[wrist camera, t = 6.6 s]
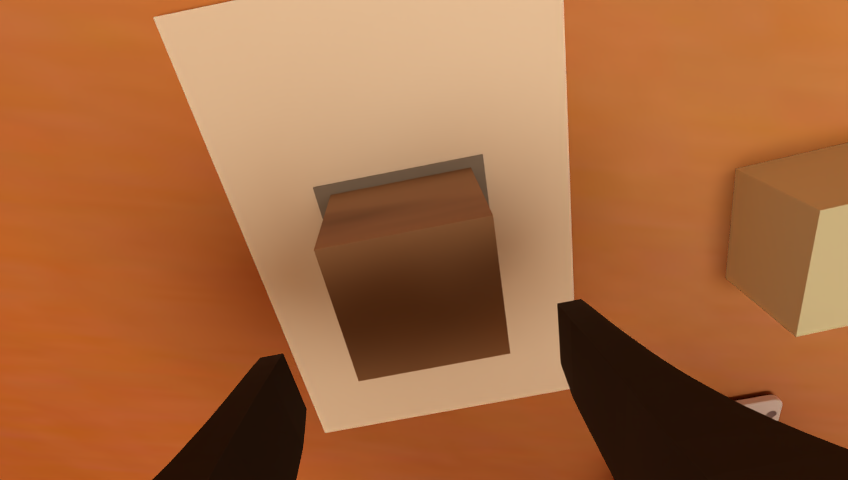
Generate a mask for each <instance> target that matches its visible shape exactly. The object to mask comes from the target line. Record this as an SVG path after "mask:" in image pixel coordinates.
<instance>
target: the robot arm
mask: <svg viewBox="0 0 848 480" xmlns="http://www.w3.org/2000/svg"><path fill="white" fill-rule="evenodd" d="M557 310H558V327H559V344H560V361H561V366H562V369H563V372H564V374H565V377H566V380H567V383H568V385H569V388H570V391H571V393H572V396H573V399H574V401H575V403H576V405H577V407H578V409H579V411H580V413H581V415H582V417H583V419H584V421H585V423H586V425H587V427H588V429H589V430H590V432H591V434H592V436H593V438H594V440H595V442H596V444H597V446H598V448H599V450H600V452H601V454H602V456H603V458H604V460H605V462H606V464H607V466H608V468H609V470H610V471H611V473H612V475H613V477H614V479H615V480H848V449H846V448H843V447H840V446H838V445H835V444H833V443H830V442H828V441H825V440H822V439H820V438H817V437H815V436H812V435H810V434H807V433H805V432H802V431H800V430H798V429H795V428H793V427H790V426H788V425H786V424H783V423H781V422H779V421H778V420H779V416H780V412H781V409H782V401H781V400H780V399H779V398H778V397H777V396H776V395H765V396H759V397H754V398H748V399H742V400H737V401H734V400H732V399H730V398H728V397H726V396H724V395H722V394H721V393H719V392H717V391H715V390H713V389H711V388H710V387H708V386H706V385H704V384H702V383H700V382H699V381H697V380H695V379H693V378H692V377H690V376H688V375H686V374H685V373H683V372H681V371H680V370H678V369H677V368H675V367H674V366H672V365H670V364H669V363H667V362H666V361H664V360H663V359H661V358H660V357H658V356H657V355H655V354H654V353H652V352H651V351H649V350H648V349H646V348H645V347H644V346H642V345H641V344H639V343H638V342H637V341H635V340H634V339H632V338H631V337H630V336H628V335H627V334H626V333H624V332H623V331H622V330H620V329H619V328H618V327H616V326H615V325H614V324H612V323H611V322H610V321H608V320H607V319H606V318H605V317H603V316H602V315H601V314H600V313H598V312H597V311H596V310H594V309H593V308H592V307H591V306H589V305H588V304H587V303H586V302H584V301H583V300H581V299H579V300H573V301H568V302H562V303H557ZM305 421H306V407H305V404H304V402H303V400H302V397H301V395H300V393H299V390H298V388H297V385H296V383H295V381H294V378H293V376H292V374H291V371H290V369H289V367H288V364H287V362H286V359H285V357H284V355H283V354H278V355H273V356H267V357H262V358H260V359H259V360H258V361H257V362H256V363H255V364H254V366H253V367H252V368H251V369H250V370H249V372H248V373H247V374H246V375H245V376H244V378H243V379H242V380H241V381H240V383H239V384H238V385H237V386H236V387H235V389H234V390H233V391H232V392H231V394H230V395H229V396H228V397H227V398H226V400H225V401H224V402H223V403H222V404H221V406H220V407H219V408H218V409H217V410H216V412H215V413H214V414H213V415H212V416H211V418H210V419H209V420H208V421H207V422H206V423H205V424H204V426H203V427H202V428H201V429H200V430H199V431H198V432H197V433H196V434H195V435H194V437H193V438H192V439H191V440H190V441H189V442H188V443H187V444H186V445H185V447H184V448H183V449H182V450H181V451H180V452H179V453H178V454H177V455H176V456H175V457H174V459H173V460H172V461H171V462H170V463H169V464H168V465H167V466H166V467H165V468H164V469H163V470H162V471H161V472H160V473H159V474H158V475H157V476H156V477H155V478H154V479H153V480H296V478H297V473H298V469H299V464H300V459H301V455H302V450H303V443H304V433H305Z"/></svg>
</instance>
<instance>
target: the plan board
mask: <svg viewBox="0 0 848 480" xmlns="http://www.w3.org/2000/svg"><path fill="white" fill-rule="evenodd" d="M153 18H154V21H155V23H156V26H157V28H158V30H159V33H160V35H161V38H162V40H163V43H164V45H165V47H166V50H167V52H168V55H169V57H170V59H171V62H172V64H173V67H174V69H175V72H176V74H177V76H178V79H179V81H180V84H181V86H182V88H183V91H184V93H185V96H186V98H187V101H188V103H189V105H190V108H191V110H192V113H193V115H194V117H195V120H196V122H197V125H198V127H199V130H200V132H201V134H202V137H203V139H204V142H205V144H206V146H207V149H208V151H209V154H210V156H211V159H212V161H213V163H214V166H215V168H216V171H217V173H218V175H219V178H220V180H221V183H222V185H223V188H224V190H225V192H226V195H227V197H228V200H229V202H230V204H231V207H232V209H233V212H234V214H235V216H236V219H237V221H238V224H239V226H240V229H241V231H242V233H243V236H244V238H245V241H246V243H247V245H248V248H249V250H250V253H251V255H252V258H253V260H254V262H255V265H256V267H257V270H258V272H259V274H260V277H261V279H262V282H263V284H264V287H265V289H266V291H267V294H268V296H269V299H270V301H271V303H272V306H273V308H274V311H275V313H276V316H277V318H278V320H279V323H280V325H281V328H282V330H283V332H284V335H285V337H286V340H287V342H288V345H289V347H290V349H291V352H292V354H293V357H294V359H295V361H296V364H297V366H298V369H299V371H300V374H301V376H302V378H303V381H304V383H305V386H306V388H307V390H308V393H309V395H310V398H311V400H312V403H313V405H314V407H315V410H316V412H317V415H318V417H319V419H320V422H321V424H322V427H323V429H324V431H325V433H328V432H333V431H339V430H344V429H350V428H356V427H361V426H367V425H372V424H378V423H383V422H389V421H395V420H400V419H406V418H411V417H417V416H422V415H428V414H434V413H439V412H445V411H450V410H456V409H461V408H467V407H473V406H478V405H484V404H489V403H495V402H500V401H506V400H512V399H517V398H523V397H528V396H534V395H539V394H545V393H551V392H556V391H562V390H567V389H570V388H569V385H568V383H567V380H566V377H565V374H564V372H563V369H562V366H561V361H560V344H559V327H558V310H557V303H562V302H568V301H573V300H574V282H573V254H572V226H571V198H570V169H569V141H568V113H567V85H566V57H565V28H564V0H234V1H229V2H224V3H219V4H215V5H210V6H205V7H200V8H196V9H191V10H186V11H181V12H176V13H172V14H167V15H162V16H157V17H153ZM470 167H471V169H472V171H473V173H474V175H475V177H476V180H477V182H478V184H479V186H480V188H481V190H482V193H483V195H484V197H485V199H486V201H487V203H488V205H489V208H490V210H491V212H492V214H493V219H494V227H495V235H496V243H497V251H498V259H499V267H500V275H501V283H502V291H503V298H504V306H505V314H506V322H507V330H508V338H509V346H510V354H505V355H500V356H494V357H489V358H483V359H478V360H473V361H467V362H462V363H456V364H451V365H445V366H440V367H435V368H429V369H424V370H418V371H413V372H407V373H402V374H397V375H391V376H386V377H380V378H375V379H369V380H364V381H358V378H357V375H356V372H355V369H354V366H353V363H352V360H351V358H350V355H349V352H348V349H347V346H346V343H345V340H344V337H343V334H342V331H341V328H340V325H339V322H338V319H337V317H336V314H335V311H334V308H333V305H332V302H331V299H330V296H329V293H328V290H327V287H326V284H325V281H324V278H323V275H322V273H321V270H320V267H319V264H318V261H317V258H316V255H315V252H314V248H315V244H316V241H317V238H318V234H319V231H320V228H321V225H322V221H323V218H324V215H325V212H326V208H327V205H328V202H329V199H330V195H333V194H338V193H343V192H348V191H353V190H358V189H364V188H369V187H374V186H379V185H384V184H389V183H394V182H399V181H404V180H409V179H414V178H419V177H424V176H430V175H435V174H440V173H445V172H450V171H455V170H460V169H465V168H470Z"/></svg>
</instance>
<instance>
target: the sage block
mask: <svg viewBox="0 0 848 480" xmlns="http://www.w3.org/2000/svg"><path fill="white" fill-rule="evenodd" d="M725 278H726V279H727V280H728V281H730V282H731V283H732V284H733V285H734V286H736V287H737V288H738V289H739V290H740V291H742V292H743V293H744V294H745V295H746V296H748V297H749V298H750V299H751V300H752V301H754V302H755V303H756V304H757V305H758V306H760V307H761V308H762V309H763V310H764V311H766V312H767V313H768V314H769V315H770V316H772V317H773V318H774V319H775V320H776V321H778V322H779V323H780V324H781V325H782V326H783V327H785V328H786V329H787V330H788V331H789V332H791V333H792V334H793V335H794V336H795V337H798V336H803V335H807V334H812V333H817V332H821V331H826V330H830V329H835V328H840V327H844V326H848V143H844V144H840V145H835V146H831V147H827V148H822V149H818V150H814V151H810V152H805V153H801V154H797V155H792V156H788V157H784V158H779V159H775V160H771V161H767V162H762V163H758V164H754V165H749V166H745V167H741V168H737V169H736V171H735V181H734V192H733V203H732V213H731V224H730V234H729V245H728V256H727V266H726V277H725Z"/></svg>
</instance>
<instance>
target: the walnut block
mask: <svg viewBox="0 0 848 480" xmlns="http://www.w3.org/2000/svg"><path fill="white" fill-rule="evenodd" d="M314 252H315V255H316V258H317V261H318V264H319V267H320V270H321V273H322V275H323V278H324V281H325V284H326V287H327V290H328V293H329V296H330V299H331V302H332V305H333V308H334V311H335V314H336V317H337V319H338V322H339V325H340V328H341V331H342V334H343V337H344V340H345V343H346V346H347V349H348V352H349V355H350V358H351V360H352V363H353V366H354V369H355V372H356V375H357V378H358V381H364V380H369V379H375V378H380V377H386V376H391V375H397V374H402V373H407V372H413V371H418V370H424V369H429V368H435V367H440V366H445V365H451V364H456V363H462V362H467V361H473V360H478V359H483V358H489V357H494V356H500V355H505V354H510V346H509V338H508V330H507V322H506V314H505V306H504V298H503V291H502V283H501V275H500V267H499V259H498V251H497V243H496V235H495V227H494V219H493V214H492V212H491V210H490V208H489V205H488V203H487V201H486V199H485V197H484V195H483V193H482V190H481V188H480V186H479V184H478V182H477V180H476V177H475V175H474V173H473V171H472V169H471V167H470V168H465V169H460V170H455V171H450V172H445V173H440V174H435V175H430V176H424V177H419V178H414V179H409V180H404V181H399V182H394V183H389V184H384V185H379V186H374V187H369V188H364V189H358V190H353V191H348V192H343V193H338V194H333V195H330V199H329V202H328V205H327V208H326V212H325V215H324V218H323V221H322V225H321V228H320V231H319V234H318V238H317V241H316V244H315V248H314Z"/></svg>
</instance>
